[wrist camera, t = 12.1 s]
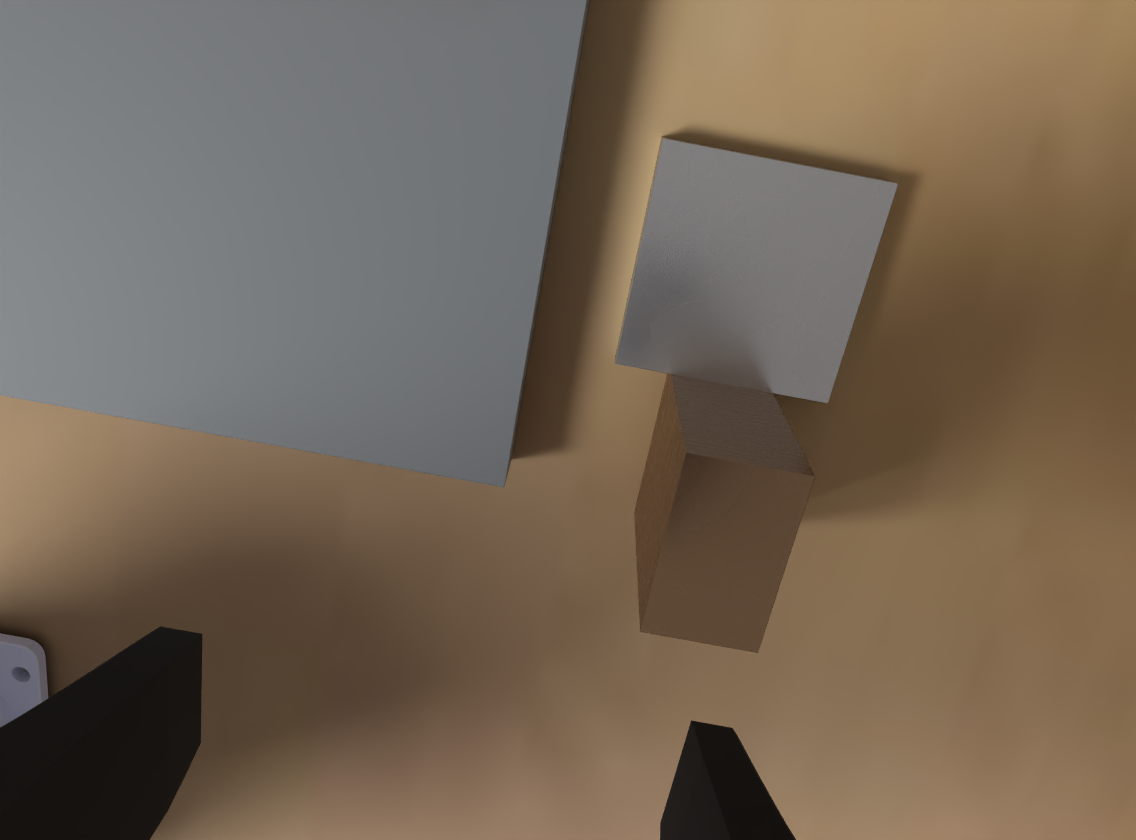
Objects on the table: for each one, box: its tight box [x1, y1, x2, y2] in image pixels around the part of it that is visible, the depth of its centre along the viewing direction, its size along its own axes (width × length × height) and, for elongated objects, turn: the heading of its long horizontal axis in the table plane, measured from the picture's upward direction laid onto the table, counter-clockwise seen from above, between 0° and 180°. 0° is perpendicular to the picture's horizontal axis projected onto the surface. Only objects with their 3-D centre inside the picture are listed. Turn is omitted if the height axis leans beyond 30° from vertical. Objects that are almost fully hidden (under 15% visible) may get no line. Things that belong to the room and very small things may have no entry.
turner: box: [615, 137, 898, 653], centre depth 17 cm, size 9×5×5 cm, turn 170°
